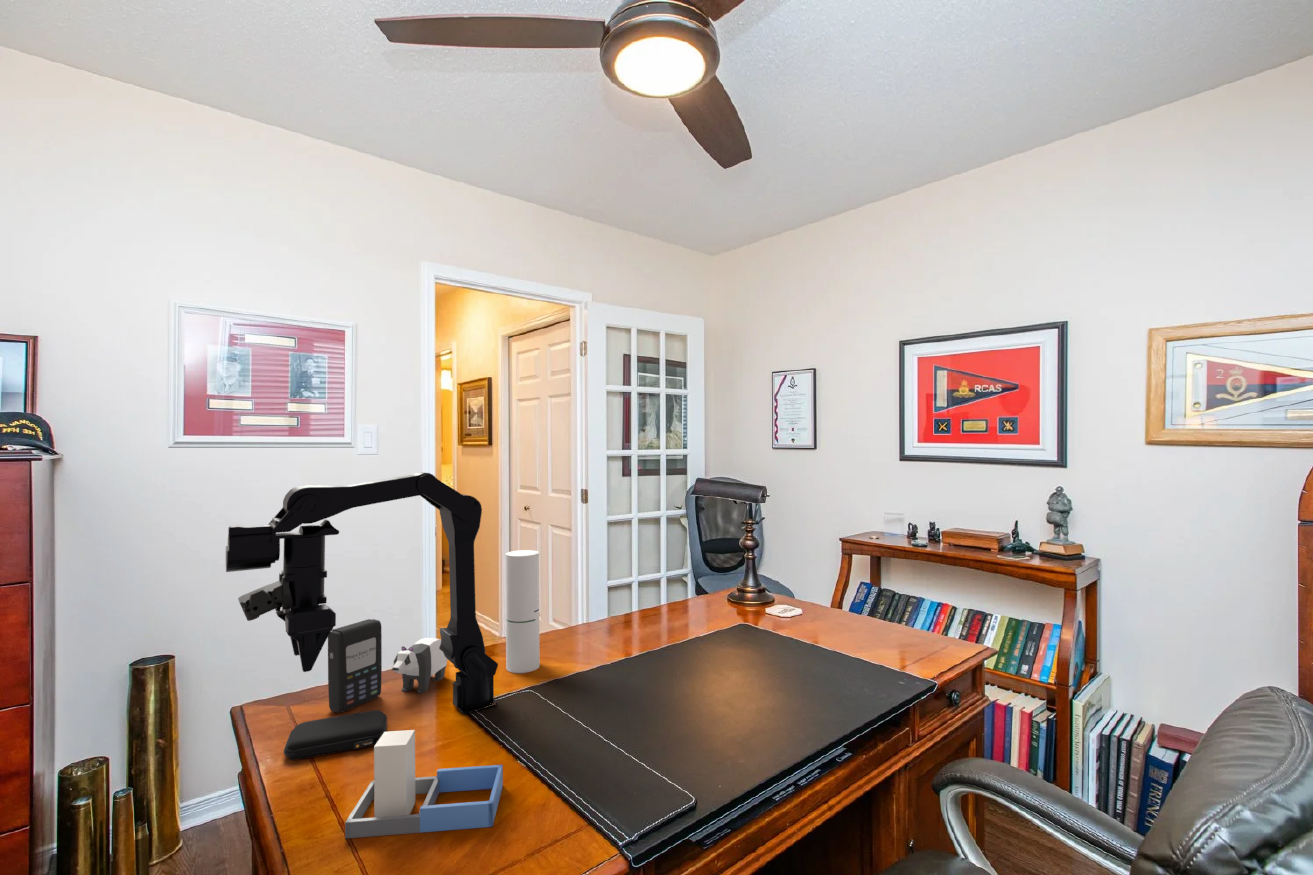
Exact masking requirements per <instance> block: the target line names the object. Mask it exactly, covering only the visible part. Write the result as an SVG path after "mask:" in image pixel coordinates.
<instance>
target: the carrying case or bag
mask: <svg viewBox="0 0 1313 875" xmlns="http://www.w3.org/2000/svg"><path fill="white" fill-rule="evenodd" d="M387 728H388V715H387V714H386V713H384V712H383V711H382V710H380V709H373V710H368V711H360V712H355V713H348V714H342V715H337V716H331V717H325V718H319V719H313V720H307V721H304V722H303V721H302V722H300V723H299V724H297V725H295V727H294V728H293V729H292V730H291V731H290V733H289V735H288V738H287V740H286V743H285V745H284V746H285V747H284V749H283V754H284V756H285V757H287V758H288V759H289V760H292V761H296V760H297V761H298V760H304V759H308V758H314V757H320V756H324V755H325V756H326V755H331V754H336V753H341V752H346V751H353V750H359V749H362V748H366V747H372V746H375V745H376V743H377V742H378V740H379V739H380V738H381V736H382V735H383V733H384V732H388V731H387Z"/></svg>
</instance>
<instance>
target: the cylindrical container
mask: <svg viewBox="0 0 1313 875" xmlns="http://www.w3.org/2000/svg"><path fill="white" fill-rule="evenodd" d="M539 553H540V552H539V551H538V550H534V549H519V550H518V549H517V550H512V551H508V552H505V638H506V639H505V653H506V654H505V659H506V660H505V661H506V662H505V664H506V666H505V667H506V671H508V672H510V673H513V674H526V673H530V672H533V671H536V670H538V669H539V668H540V666H541V665H540V663H541V662H540V660H541V659H540V658H541V657H540V653H541V652H540V651H541V650H540V554H539Z"/></svg>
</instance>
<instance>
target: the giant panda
mask: <svg viewBox="0 0 1313 875" xmlns="http://www.w3.org/2000/svg"><path fill="white" fill-rule="evenodd" d="M440 645H441V638H440V639H439V638H435V637H423V638H421V639H419V640H418V641H416V642H415V643H413V645H411V646H410V647H409V648H408V649H407V648H406V646H401V650H400V651H399V652H397V654H396V656H395V658H394V660H393V666H392V668H391V670H392V671H393V672H394V673H395V674H400V675H402V688H401V692H405V693H406V692H409V691H411V690H412V689H413V688H414V686H415V680H416V681H417V683H418V687H417V690H416V693H418V694H423V693H425V692H426V691H428V690H429V688H430V680H431V677H432V676H433V675H434V677H433V679H432V680H433V681H434V682H439V681H441V680H442V679H444V678H445V673H446V672H445V671H446V667H447V665H448V659H447V658H446V657H445V656H444V653H443V652H442V651H441V650H440V649H439V647H440Z"/></svg>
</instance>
